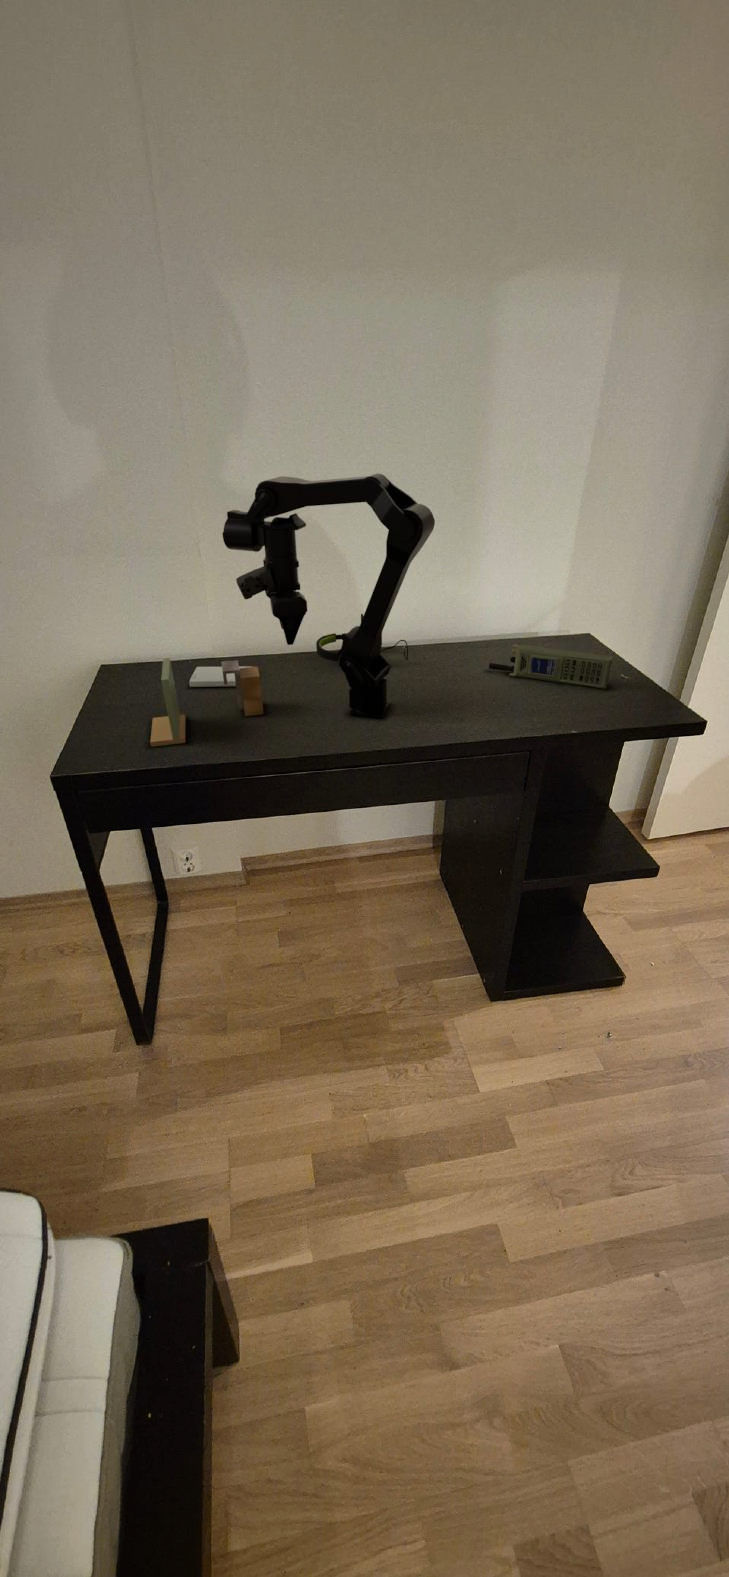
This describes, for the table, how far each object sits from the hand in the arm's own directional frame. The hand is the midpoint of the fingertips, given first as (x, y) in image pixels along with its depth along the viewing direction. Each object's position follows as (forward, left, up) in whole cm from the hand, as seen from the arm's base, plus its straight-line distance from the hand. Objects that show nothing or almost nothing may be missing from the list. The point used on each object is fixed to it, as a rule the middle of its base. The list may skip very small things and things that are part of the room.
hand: (287, 636), depth 128 cm
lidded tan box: (+7, +8, -13) cm, 17 cm away
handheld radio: (-50, -22, -13) cm, 56 cm away
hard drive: (+18, -5, -13) cm, 23 cm away
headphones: (-8, -23, -13) cm, 28 cm away
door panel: (+17, +20, -13) cm, 29 cm away
